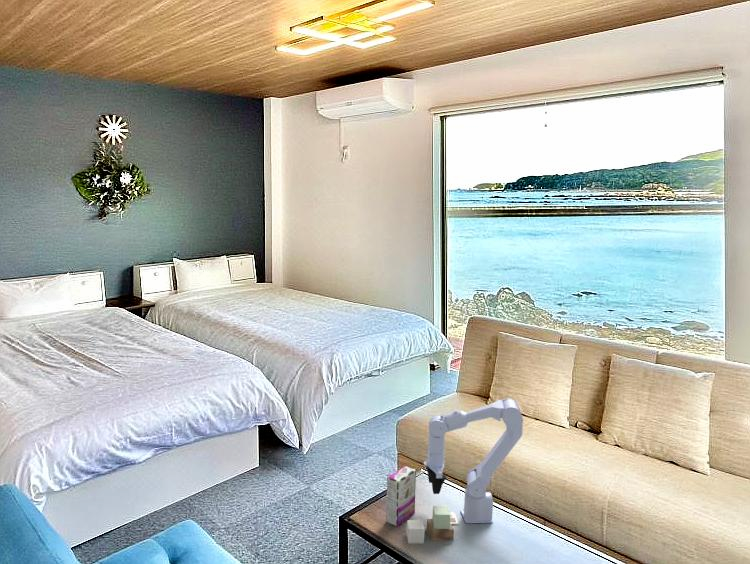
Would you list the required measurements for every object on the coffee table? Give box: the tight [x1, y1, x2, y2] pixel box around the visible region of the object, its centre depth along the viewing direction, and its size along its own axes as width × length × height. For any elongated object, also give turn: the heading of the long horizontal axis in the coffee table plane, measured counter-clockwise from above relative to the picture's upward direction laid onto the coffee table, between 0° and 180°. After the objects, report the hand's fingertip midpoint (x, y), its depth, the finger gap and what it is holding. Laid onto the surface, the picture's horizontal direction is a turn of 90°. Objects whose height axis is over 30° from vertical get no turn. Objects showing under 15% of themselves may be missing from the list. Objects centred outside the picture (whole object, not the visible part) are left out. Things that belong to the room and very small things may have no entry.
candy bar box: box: [385, 465, 417, 527], centre depth 190 cm, size 11×5×16 cm, turn 143°
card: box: [450, 511, 460, 526], centre depth 191 cm, size 5×7×1 cm
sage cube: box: [431, 505, 451, 529], centre depth 181 cm, size 5×5×5 cm
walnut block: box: [426, 518, 455, 543], centre depth 181 cm, size 7×7×4 cm
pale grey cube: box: [406, 519, 425, 544], centre depth 179 cm, size 5×5×5 cm
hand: (434, 487), depth 193 cm, fingers open, 7 cm apart
